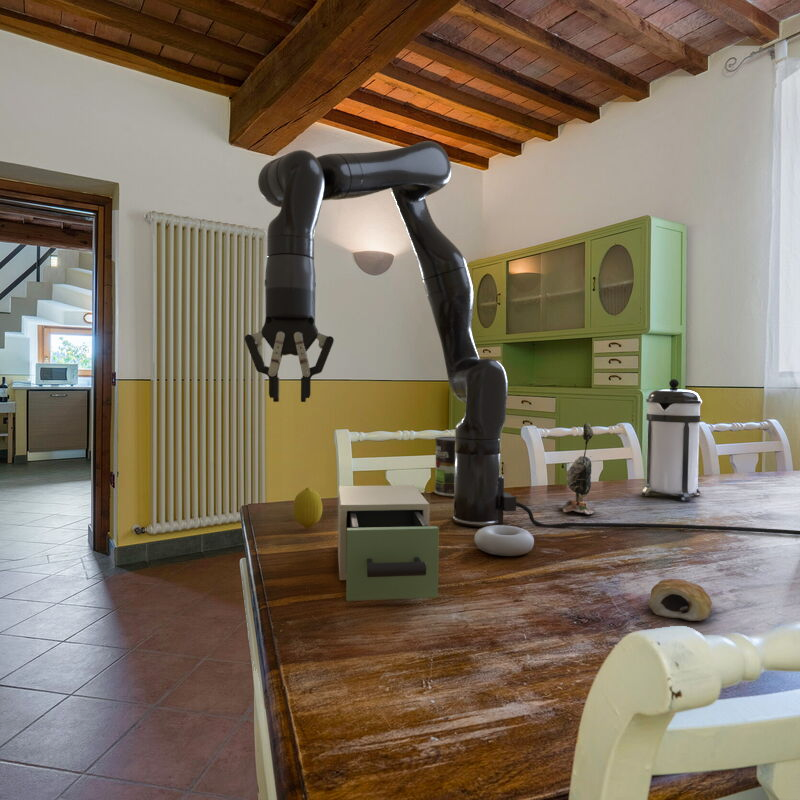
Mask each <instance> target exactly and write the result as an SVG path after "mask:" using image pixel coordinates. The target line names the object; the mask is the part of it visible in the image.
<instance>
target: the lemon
mask: <svg viewBox="0 0 800 800" xmlns="http://www.w3.org/2000/svg"><path fill="white" fill-rule="evenodd" d="M292 513H293V514H292V515H293V517H294V520H295V521H296V522H297V524H298V525H300V526H301V527H303V528H304V529H306V530H310V529H311V528H312V527H313V526H315V525H316V524H318V523H319V522H320V519H321V518H322V515H323V502H322V499H321V496H320V494H319V493H318V492H317V491H315V490H313V489H311V488H310V487H306V488H305V489H303V490H301V491H300V492H298V493H297V494H296V496H295V497H294V501H293V506H292Z"/></svg>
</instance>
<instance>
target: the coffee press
mask: <svg viewBox="0 0 800 800" xmlns="http://www.w3.org/2000/svg"><path fill="white" fill-rule="evenodd" d="M668 385H669V386H670V388H668V389H663V388H662V389H656V390H652V391H651V392H650V393H649V394H648V396H647V398H646V400H645V402H646V404H647V413H646V419H645V420H646V423H647V424H646V456H645V457H646V461H645V463H646V464H645V486H644V487H643V489H642V490H641V495H642V496H644V497H649V496H651V495H652V494H653V493H661V494H669V495H677V496H679V497H680V499H681V501H682V502H683V503H684V502H685V503H686V502H688V503H689V502H690V501H691V496H690V494H691V495H692V496H693V497H698V498H699V497H700V496H701V492H700V490H699V488H698V487H699V486H698V485H699V483H698V482H699V454H700V453H699V452H700V451H699V449H700V423H701V422H702V421H701V420H702V419H701V418H702V416H701V405H702V404H703V399H701V397H700V395H699V394H698V393H697V392H695V391H693V390H690V389H679V388H678V386H679V385H680V382H679V381H678V380H677V379H675V378H673V379H671V380H669V383H668ZM648 490H649V491H648ZM647 491H648V492H647ZM646 492H647V493H646ZM695 493H696V494H695Z"/></svg>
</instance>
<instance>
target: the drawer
mask: <svg viewBox="0 0 800 800" xmlns="http://www.w3.org/2000/svg"><path fill="white" fill-rule="evenodd" d="M439 542H440V528H439V527H438V526H437V525H430V524H429V525H428V524H427V522H426V521H425V519H424V518H423V516H422V515H421V514H420V512H419V511H418V510H381V511H349V528H347V564H346V580H345V581H346V584H345V592H346V593H345V600H346V602H354V601H355V602H357V601H384V600H385V601H386V600H410V599H411V600H413V599H435V598H436V599H437V598H438V597H439V556H440V555H439V553H440V552H439V550H440V549H439V547H440V546H439V544H440V543H439Z"/></svg>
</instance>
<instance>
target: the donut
mask: <svg viewBox="0 0 800 800" xmlns="http://www.w3.org/2000/svg"><path fill="white" fill-rule="evenodd" d="M473 540H474V543H475V546H476V547H477V548H478V549H479V550H480V551H482V552H484V553H487V554H489V555H494V556H500V557H517V556H523V555H526V554H528V553H529V552H531V551H532V550H533V547H534V545H535V538H534V536H533V535H532V534H531V532H529V530H526V529H525V528H522V527H518V526H513V525H504V524H498V525H494V526H487V527H480V528H479V529H478V530H477V532H475V535H474V539H473Z"/></svg>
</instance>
